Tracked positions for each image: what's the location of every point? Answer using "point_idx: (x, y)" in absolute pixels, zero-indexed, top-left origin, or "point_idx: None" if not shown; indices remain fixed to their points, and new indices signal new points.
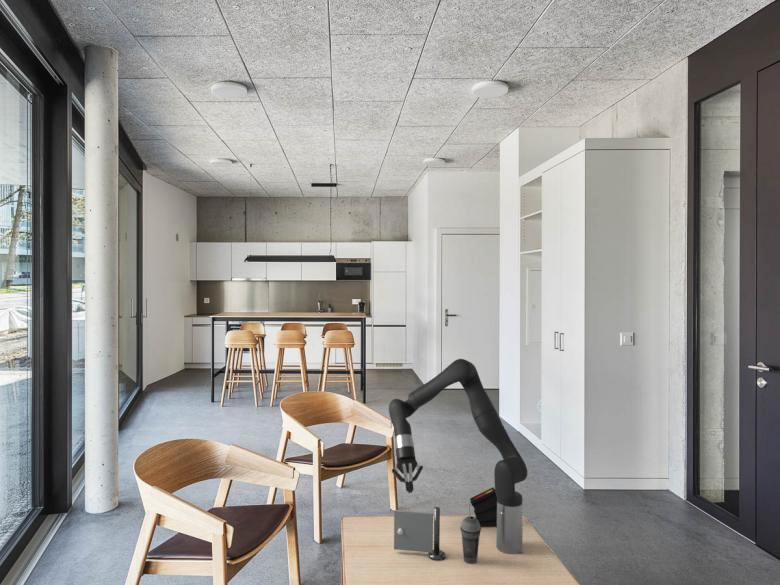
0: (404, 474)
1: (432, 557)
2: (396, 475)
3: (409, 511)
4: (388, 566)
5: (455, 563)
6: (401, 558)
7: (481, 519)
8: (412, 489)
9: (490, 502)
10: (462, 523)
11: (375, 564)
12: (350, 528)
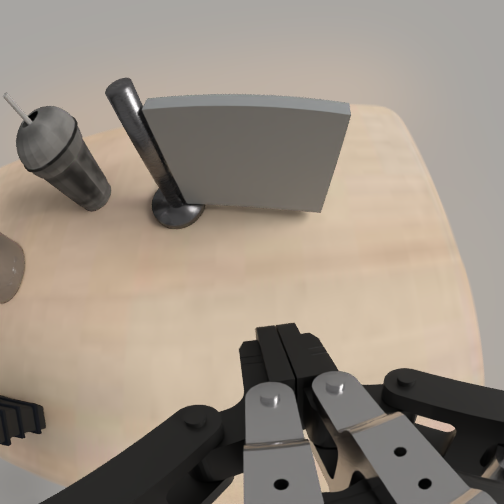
0: (399, 417)
1: None
2: (492, 390)
3: (266, 100)
4: None
5: (135, 176)
6: None
7: (18, 404)
8: (250, 344)
9: None
10: (63, 117)
11: (357, 152)
12: (475, 367)
